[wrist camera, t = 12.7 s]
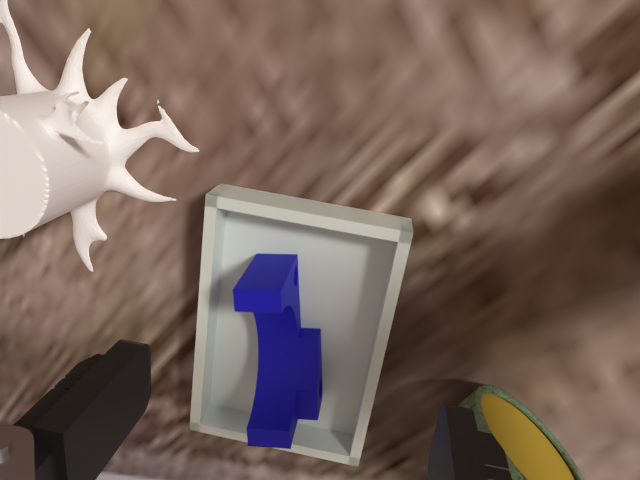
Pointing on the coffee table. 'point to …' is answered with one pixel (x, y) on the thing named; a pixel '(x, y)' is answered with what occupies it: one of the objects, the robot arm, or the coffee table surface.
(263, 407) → the blue curved bracket
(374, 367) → the parts tray
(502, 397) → the decorative artifact
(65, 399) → the robot arm
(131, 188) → the tree stump
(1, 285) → the coffee table surface
